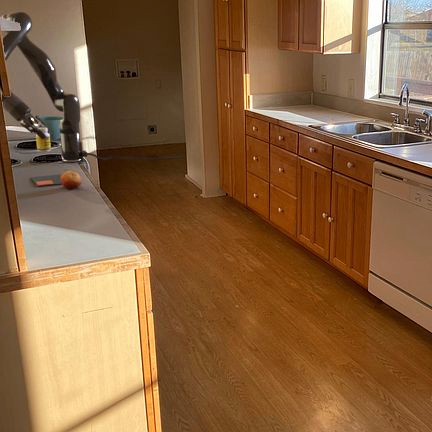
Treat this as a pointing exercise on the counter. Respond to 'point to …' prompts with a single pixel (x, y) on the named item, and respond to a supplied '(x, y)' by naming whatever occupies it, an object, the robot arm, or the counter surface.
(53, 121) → the plant pot
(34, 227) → the counter surface
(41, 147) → the supplement bottle
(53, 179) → the corner mat
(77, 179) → the fruit
